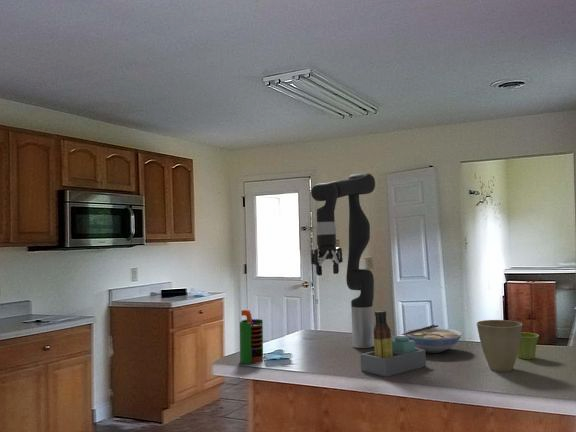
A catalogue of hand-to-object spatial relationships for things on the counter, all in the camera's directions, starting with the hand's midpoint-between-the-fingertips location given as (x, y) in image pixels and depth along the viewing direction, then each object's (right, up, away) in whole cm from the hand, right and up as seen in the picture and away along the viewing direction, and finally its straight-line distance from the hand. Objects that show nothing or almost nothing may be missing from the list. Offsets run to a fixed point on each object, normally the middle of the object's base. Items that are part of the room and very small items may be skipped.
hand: (327, 274), depth 217 cm
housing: (+22, -32, -19) cm, 43 cm away
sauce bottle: (+19, -31, -22) cm, 42 cm away
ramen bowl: (+44, -32, +7) cm, 55 cm away
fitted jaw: (+26, -30, -16) cm, 43 cm away
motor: (-30, -34, 0) cm, 45 cm away
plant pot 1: (+59, -31, -25) cm, 71 cm away
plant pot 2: (+74, -31, -9) cm, 81 cm away
